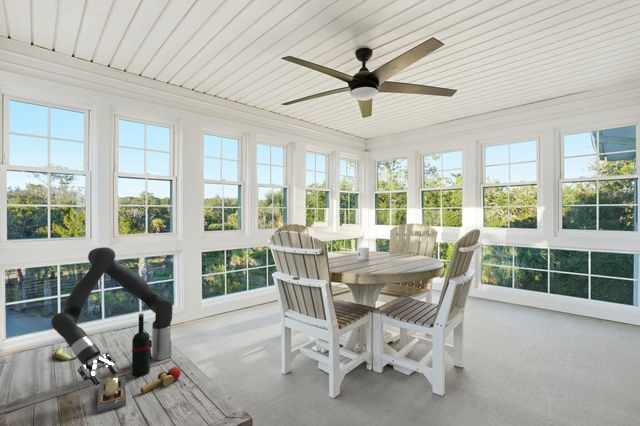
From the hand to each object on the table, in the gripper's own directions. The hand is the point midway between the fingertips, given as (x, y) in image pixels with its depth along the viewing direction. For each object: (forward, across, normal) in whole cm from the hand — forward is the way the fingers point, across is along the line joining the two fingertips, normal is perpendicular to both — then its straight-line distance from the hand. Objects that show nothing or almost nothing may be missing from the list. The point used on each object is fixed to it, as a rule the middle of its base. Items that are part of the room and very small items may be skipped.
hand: (107, 378), depth 137 cm
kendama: (+17, +16, -3) cm, 24 cm away
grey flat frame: (+6, +3, +8) cm, 10 cm away
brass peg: (+8, 0, +5) cm, 10 cm away
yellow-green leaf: (-35, +30, +50) cm, 67 cm away
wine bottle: (+4, +25, +10) cm, 27 cm away
